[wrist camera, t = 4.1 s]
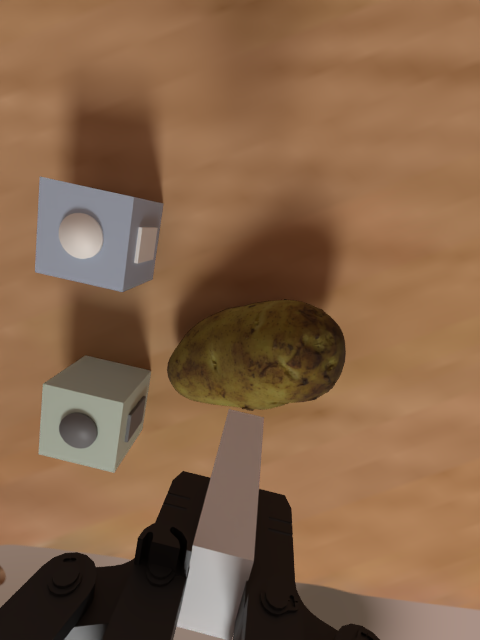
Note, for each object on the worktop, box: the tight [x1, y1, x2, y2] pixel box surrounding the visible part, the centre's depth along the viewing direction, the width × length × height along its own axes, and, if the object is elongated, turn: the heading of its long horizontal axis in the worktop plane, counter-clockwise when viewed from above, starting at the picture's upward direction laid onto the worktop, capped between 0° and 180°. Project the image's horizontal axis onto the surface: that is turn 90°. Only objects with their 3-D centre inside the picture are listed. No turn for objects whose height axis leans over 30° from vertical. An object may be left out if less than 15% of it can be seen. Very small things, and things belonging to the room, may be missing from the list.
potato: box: [167, 299, 345, 411], centre depth 25 cm, size 8×13×8 cm, turn 90°
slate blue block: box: [35, 177, 163, 292], centre depth 25 cm, size 6×6×6 cm
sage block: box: [39, 355, 151, 473], centre depth 29 cm, size 6×6×6 cm
